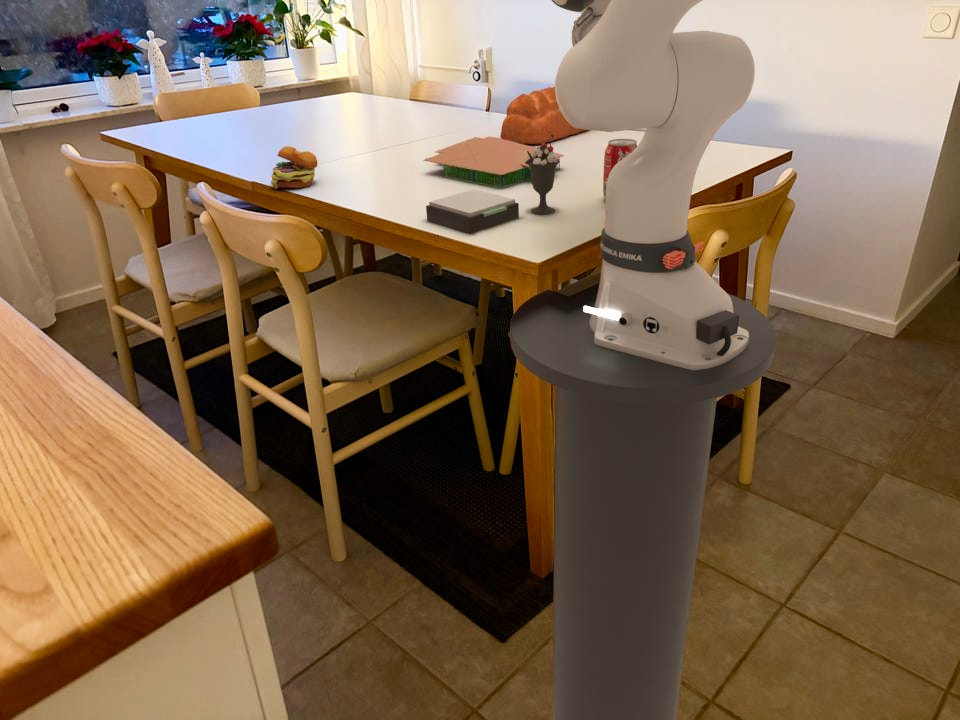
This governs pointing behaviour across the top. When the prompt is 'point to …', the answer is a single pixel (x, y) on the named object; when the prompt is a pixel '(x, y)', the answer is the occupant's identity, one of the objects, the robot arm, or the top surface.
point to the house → (487, 158)
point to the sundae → (543, 174)
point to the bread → (536, 119)
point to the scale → (472, 210)
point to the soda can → (616, 155)
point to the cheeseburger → (294, 169)
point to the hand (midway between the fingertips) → (623, 69)
